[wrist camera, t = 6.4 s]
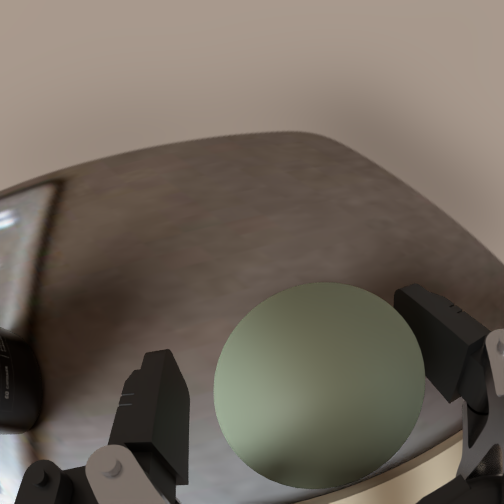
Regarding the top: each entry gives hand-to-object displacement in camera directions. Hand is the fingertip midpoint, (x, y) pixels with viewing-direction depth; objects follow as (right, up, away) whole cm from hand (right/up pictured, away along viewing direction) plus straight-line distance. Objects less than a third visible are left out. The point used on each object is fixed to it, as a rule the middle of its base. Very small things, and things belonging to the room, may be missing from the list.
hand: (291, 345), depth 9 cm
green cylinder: (+1, -3, +3) cm, 5 cm away
